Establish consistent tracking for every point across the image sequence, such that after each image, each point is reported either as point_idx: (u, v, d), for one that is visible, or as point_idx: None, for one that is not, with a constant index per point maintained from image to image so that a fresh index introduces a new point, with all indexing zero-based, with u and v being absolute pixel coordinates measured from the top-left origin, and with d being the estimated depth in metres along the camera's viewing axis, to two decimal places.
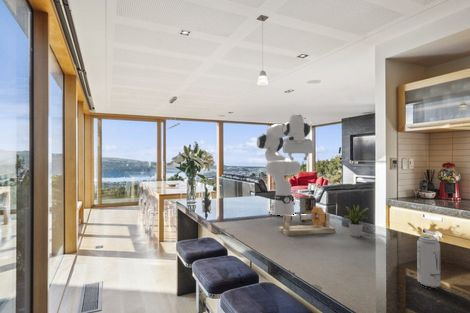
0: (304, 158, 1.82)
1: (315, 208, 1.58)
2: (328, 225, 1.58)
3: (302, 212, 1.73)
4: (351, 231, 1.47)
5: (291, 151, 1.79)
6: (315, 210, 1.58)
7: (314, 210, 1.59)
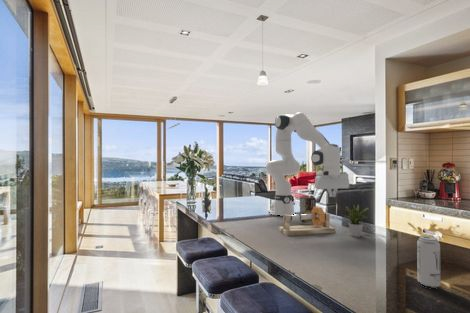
0: None
1: (315, 208, 1.58)
2: (328, 225, 1.58)
3: (302, 212, 1.73)
4: (351, 231, 1.47)
5: (325, 187, 1.57)
6: (315, 210, 1.58)
7: (314, 210, 1.59)
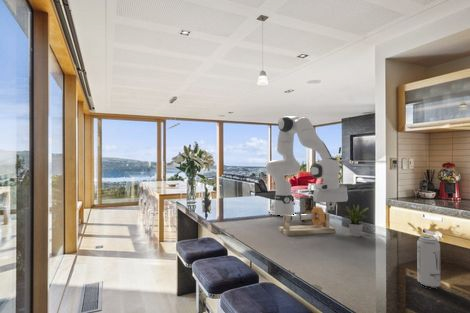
0: None
1: (315, 208, 1.58)
2: (328, 225, 1.58)
3: (302, 212, 1.73)
4: (351, 231, 1.47)
5: (323, 201, 1.57)
6: (315, 210, 1.58)
7: (314, 210, 1.59)
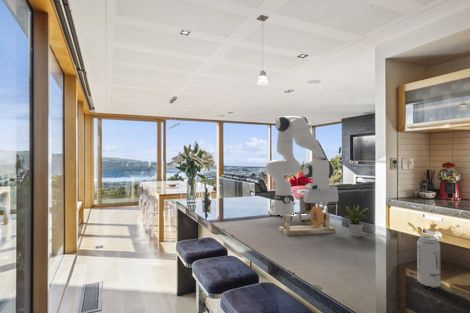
0: (321, 208, 1.58)
1: (314, 208, 1.58)
2: (328, 225, 1.58)
3: (302, 212, 1.73)
4: (351, 231, 1.47)
5: (313, 201, 1.56)
6: (314, 210, 1.58)
7: (313, 210, 1.59)
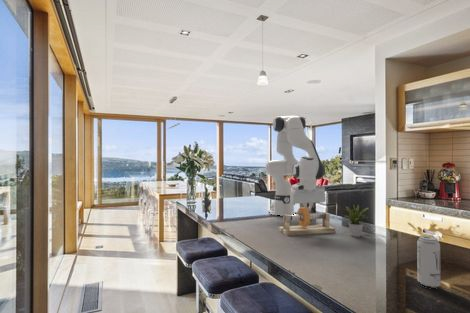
0: (308, 209, 1.56)
1: (301, 209, 1.56)
2: (328, 225, 1.58)
3: None
4: (351, 231, 1.47)
5: (300, 202, 1.54)
6: (301, 211, 1.56)
7: (300, 210, 1.57)
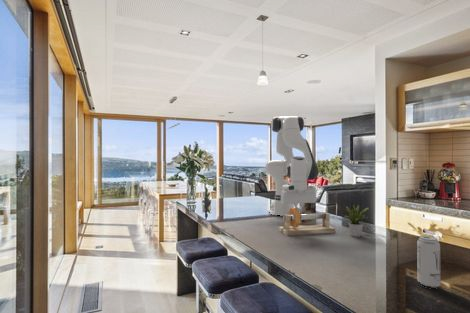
0: (298, 209, 1.55)
1: (291, 209, 1.55)
2: (328, 225, 1.58)
3: (302, 212, 1.73)
4: (351, 231, 1.47)
5: (290, 202, 1.52)
6: (291, 211, 1.55)
7: (291, 211, 1.55)
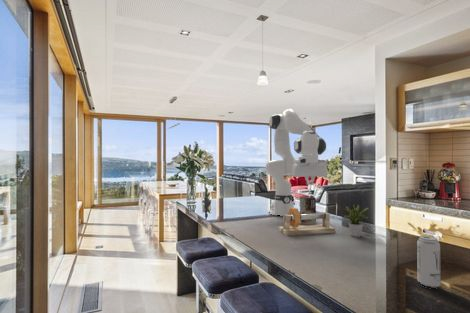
0: None
1: (291, 209, 1.55)
2: (328, 225, 1.58)
3: (302, 212, 1.73)
4: (351, 231, 1.47)
5: (302, 175, 1.56)
6: (291, 211, 1.55)
7: (291, 211, 1.55)
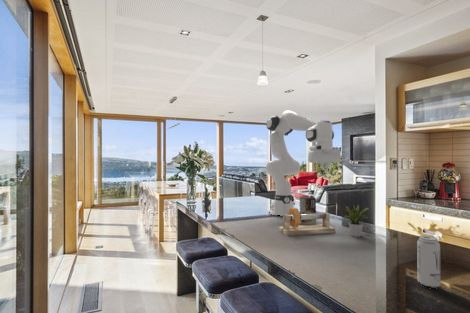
0: None
1: (291, 209, 1.55)
2: (328, 225, 1.58)
3: (302, 212, 1.73)
4: (351, 231, 1.47)
5: (318, 161, 1.67)
6: (291, 211, 1.55)
7: (291, 211, 1.55)
